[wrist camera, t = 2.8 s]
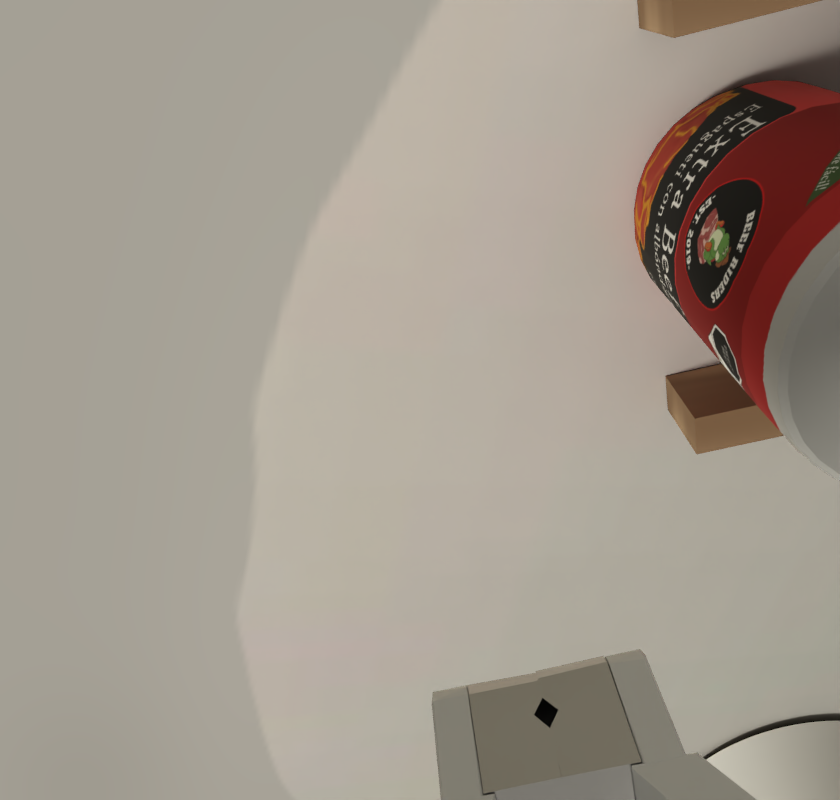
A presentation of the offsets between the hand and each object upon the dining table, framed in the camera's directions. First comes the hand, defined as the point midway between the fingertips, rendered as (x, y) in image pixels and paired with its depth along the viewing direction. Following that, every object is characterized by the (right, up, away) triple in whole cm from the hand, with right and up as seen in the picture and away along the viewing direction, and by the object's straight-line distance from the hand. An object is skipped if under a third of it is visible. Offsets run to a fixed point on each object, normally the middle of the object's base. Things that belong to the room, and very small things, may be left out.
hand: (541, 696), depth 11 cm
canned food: (+9, +11, +15) cm, 20 cm away
